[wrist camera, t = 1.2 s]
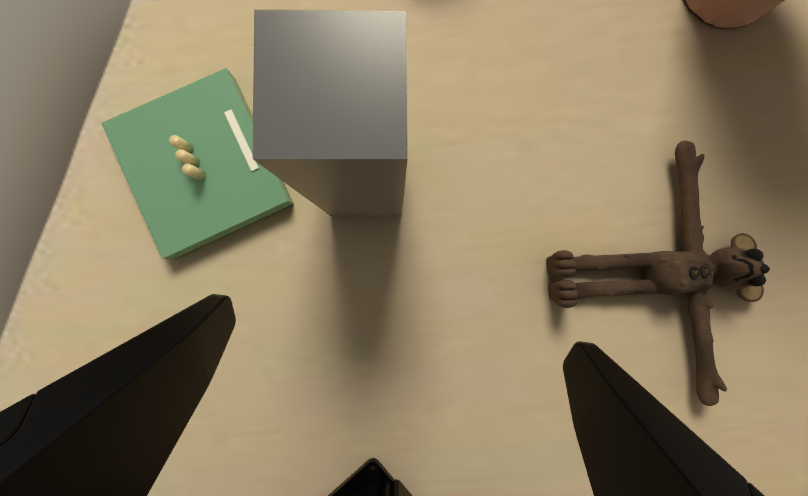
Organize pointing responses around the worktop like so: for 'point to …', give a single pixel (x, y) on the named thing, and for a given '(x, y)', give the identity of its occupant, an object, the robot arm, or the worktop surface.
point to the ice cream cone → (731, 11)
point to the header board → (195, 164)
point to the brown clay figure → (675, 273)
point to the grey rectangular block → (333, 106)
